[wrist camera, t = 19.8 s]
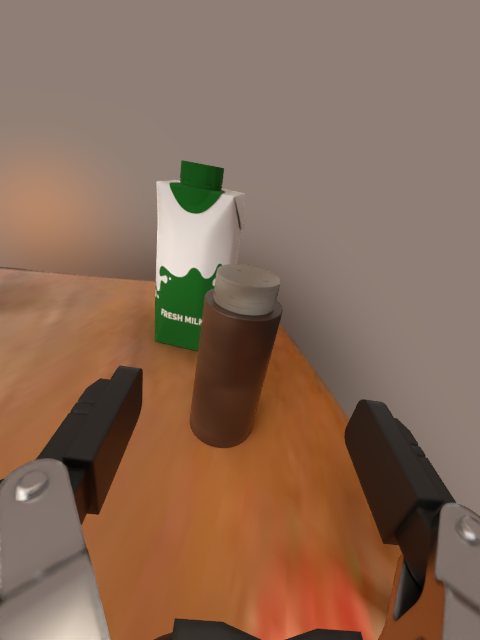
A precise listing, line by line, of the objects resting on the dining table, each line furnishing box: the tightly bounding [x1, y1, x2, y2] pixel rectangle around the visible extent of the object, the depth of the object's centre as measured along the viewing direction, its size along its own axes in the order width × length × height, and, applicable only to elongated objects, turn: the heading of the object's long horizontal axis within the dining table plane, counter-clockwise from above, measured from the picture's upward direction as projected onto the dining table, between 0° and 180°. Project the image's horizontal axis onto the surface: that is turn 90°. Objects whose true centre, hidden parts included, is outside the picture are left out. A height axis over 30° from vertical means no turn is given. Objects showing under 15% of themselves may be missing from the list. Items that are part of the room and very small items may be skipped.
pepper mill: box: [190, 264, 282, 448], centre depth 23 cm, size 6×6×14 cm
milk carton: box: [155, 161, 245, 351], centre depth 33 cm, size 9×9×20 cm
